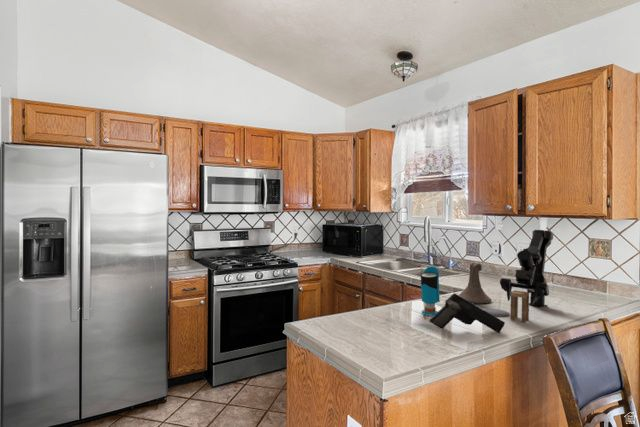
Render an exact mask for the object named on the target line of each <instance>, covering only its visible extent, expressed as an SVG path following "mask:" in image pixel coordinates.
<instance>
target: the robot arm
mask: <svg viewBox="0 0 640 427" xmlns="http://www.w3.org/2000/svg"><path fill="white" fill-rule="evenodd" d="M531 235H532V238H531V240H530V243H529V246H528V247H527V248H523V250H520V251H518V253H517V254H516V256H517V259H518V264H519V266H520V267H521V268H520V269H515V275H514V277H515V281H516V282H514V281H513V282H512V280H511V279H510V278H504V277H502V278H501V279H499V284H500V287H501V289H502V290H503V291H504V292H506V297H507V301H508V302H509V301H511V292H513V291H512V289H513V288H517V289H518V288H519V289H523V290H526V292H529V294H530V296H529V306H533V307H537V308H546V307H548V304H545V302H546V300H545V297H548V296H549V295H550V289H549V285H548V283H547V280H546V277H545V276H544V274H545V267H546V266H545V264H546V257H547V256H546V255H547V249H548V248H549V246H551V244H552V241H553V239H554V234H553V232H551V230H544V229H535V230H532V234H531Z"/></svg>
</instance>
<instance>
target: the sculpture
mask: <svg viewBox="0 0 640 427" xmlns="http://www.w3.org/2000/svg"><path fill="white" fill-rule="evenodd" d="M482 270H483V268H482V264H481V263H478V262H475V261H474V262H471V264H470V266H469V278H468V283H467V286H466V287H465V288H464V289H463V290H462V291H461V292H460V294H457V295H458V296H460V297H462V298H464V299H465V300H467V301H469V302H471V303H472V304H474V305H481V304H482V305H483V304H489V303H491V302H492V298H491V297H489V295H487V293H486V292H485V291H484V290H483V288H482V284H481V281H480V276H479V272H480V271H482Z"/></svg>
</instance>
